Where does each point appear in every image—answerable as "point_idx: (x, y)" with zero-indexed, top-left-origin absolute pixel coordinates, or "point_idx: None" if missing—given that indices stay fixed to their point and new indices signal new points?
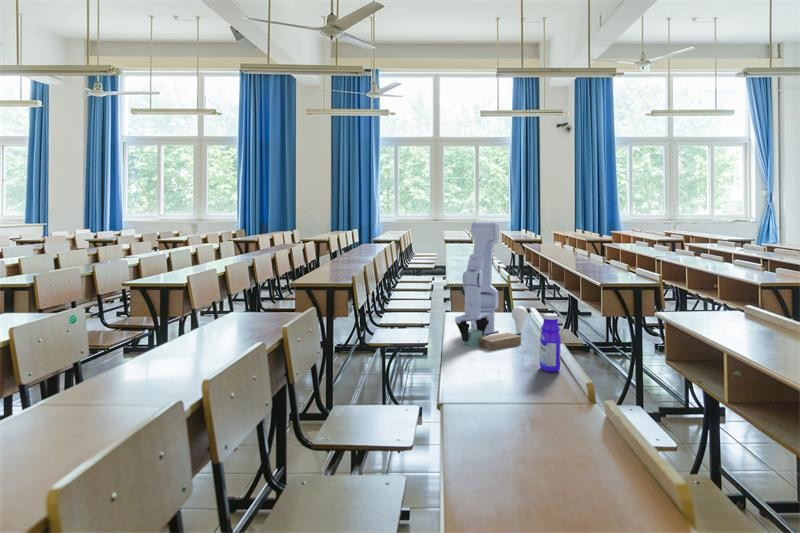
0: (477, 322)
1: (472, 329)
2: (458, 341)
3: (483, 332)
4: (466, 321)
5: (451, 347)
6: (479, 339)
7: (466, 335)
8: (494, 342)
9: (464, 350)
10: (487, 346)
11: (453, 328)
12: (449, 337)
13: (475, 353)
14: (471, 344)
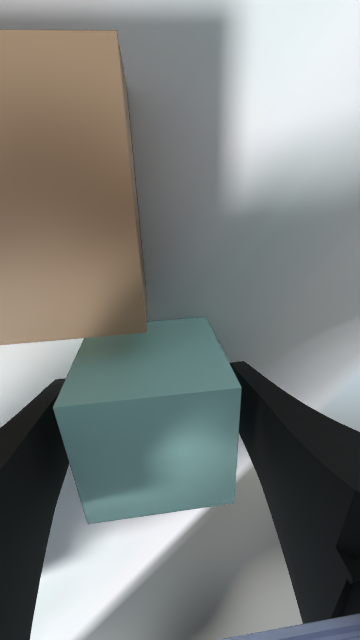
0: (19, 612)
1: (124, 500)
2: None
3: (21, 417)
4: (335, 621)
5: (343, 354)
6: (145, 311)
7: (275, 390)
8: (51, 44)
9: (340, 235)
10: (132, 160)
11: (64, 628)
12: (189, 524)
13: (351, 72)
14: (208, 323)
